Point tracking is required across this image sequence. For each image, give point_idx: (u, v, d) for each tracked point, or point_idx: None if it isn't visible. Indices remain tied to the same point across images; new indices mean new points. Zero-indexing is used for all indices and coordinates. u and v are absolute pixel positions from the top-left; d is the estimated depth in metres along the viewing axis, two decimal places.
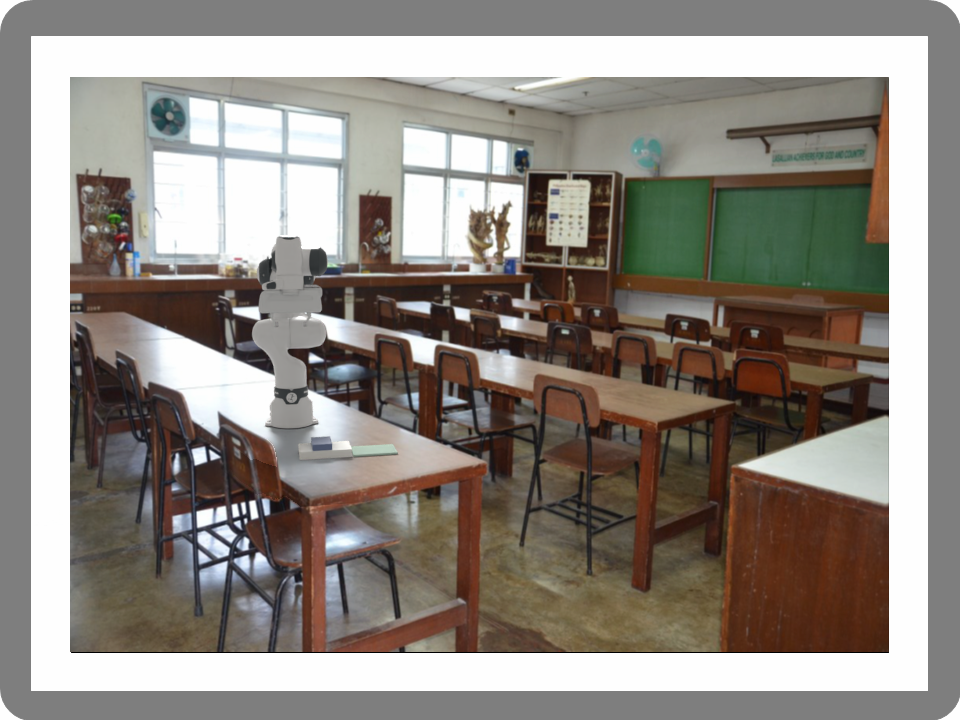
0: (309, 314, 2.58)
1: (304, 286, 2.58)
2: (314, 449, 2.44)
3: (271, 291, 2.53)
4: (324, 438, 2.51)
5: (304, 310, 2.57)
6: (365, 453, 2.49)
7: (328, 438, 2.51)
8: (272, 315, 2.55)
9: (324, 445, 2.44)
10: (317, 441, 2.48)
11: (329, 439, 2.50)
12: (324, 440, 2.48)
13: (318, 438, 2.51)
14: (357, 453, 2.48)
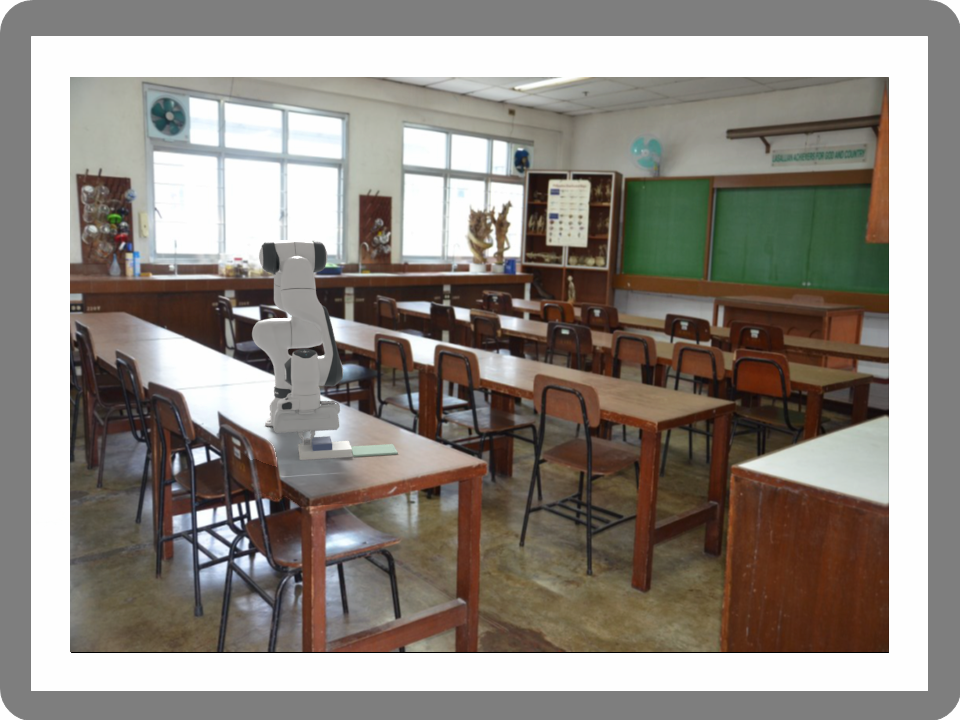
0: (313, 432, 2.46)
1: (321, 403, 2.46)
2: (314, 449, 2.44)
3: (287, 411, 2.42)
4: (324, 438, 2.51)
5: (321, 428, 2.46)
6: (365, 453, 2.49)
7: (328, 438, 2.51)
8: (301, 433, 2.45)
9: (324, 445, 2.44)
10: (317, 441, 2.48)
11: (329, 439, 2.50)
12: (324, 440, 2.48)
13: (318, 438, 2.51)
14: (357, 453, 2.48)
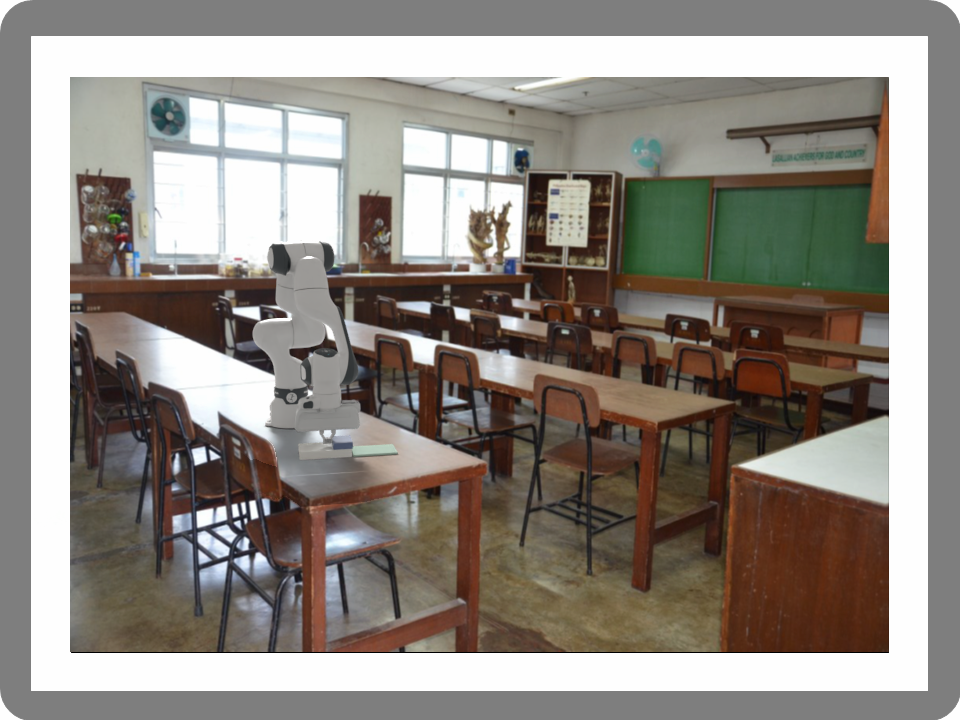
0: (334, 431, 2.48)
1: (342, 402, 2.48)
2: (335, 448, 2.46)
3: (308, 410, 2.43)
4: (344, 437, 2.53)
5: (341, 427, 2.48)
6: (365, 453, 2.49)
7: (348, 437, 2.53)
8: (322, 432, 2.47)
9: (345, 444, 2.46)
10: (337, 440, 2.49)
11: (349, 438, 2.52)
12: (345, 439, 2.50)
13: (338, 437, 2.53)
14: (357, 453, 2.48)
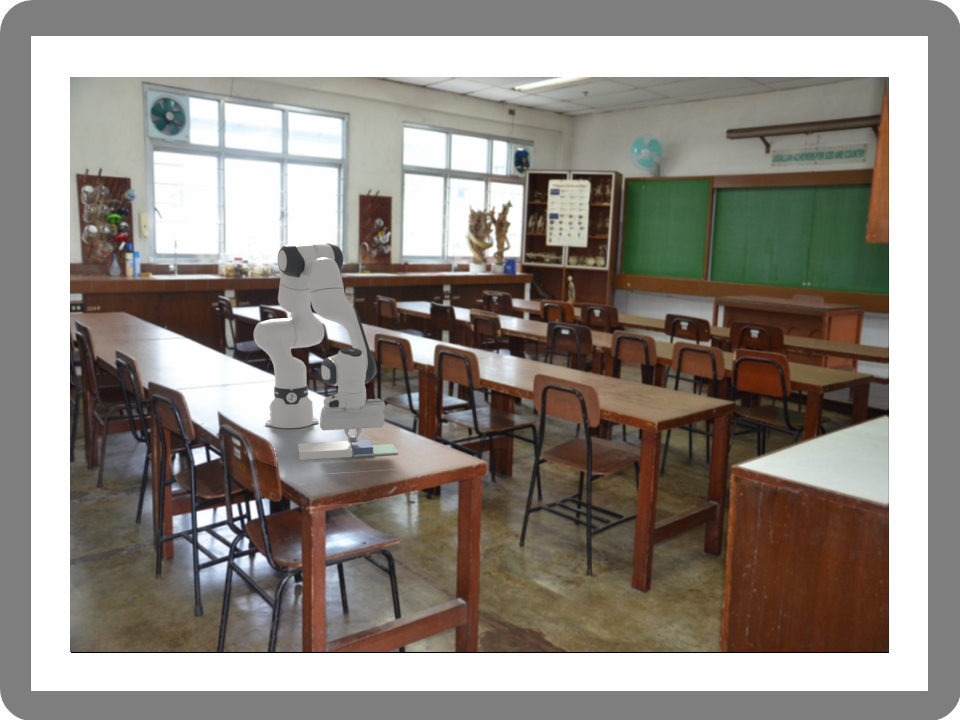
0: (359, 430, 2.50)
1: (367, 401, 2.50)
2: (355, 452, 2.48)
3: (334, 409, 2.45)
4: (364, 441, 2.55)
5: (366, 426, 2.50)
6: None
7: (368, 441, 2.55)
8: (347, 431, 2.49)
9: (365, 448, 2.48)
10: (357, 444, 2.51)
11: (369, 442, 2.54)
12: (365, 444, 2.52)
13: (358, 441, 2.54)
14: None
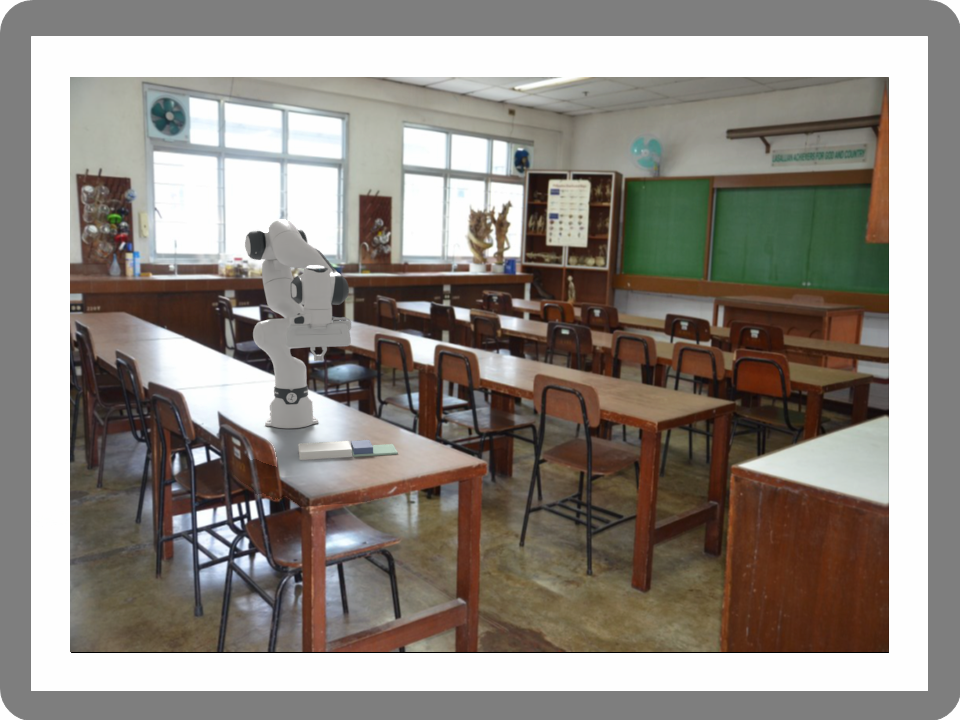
0: (325, 348, 2.49)
1: (333, 319, 2.49)
2: (355, 452, 2.48)
3: (299, 325, 2.44)
4: (364, 441, 2.55)
5: (332, 344, 2.49)
6: None
7: (368, 441, 2.55)
8: (313, 349, 2.48)
9: (365, 448, 2.48)
10: (357, 444, 2.51)
11: (369, 442, 2.54)
12: (365, 444, 2.52)
13: (358, 441, 2.54)
14: None
